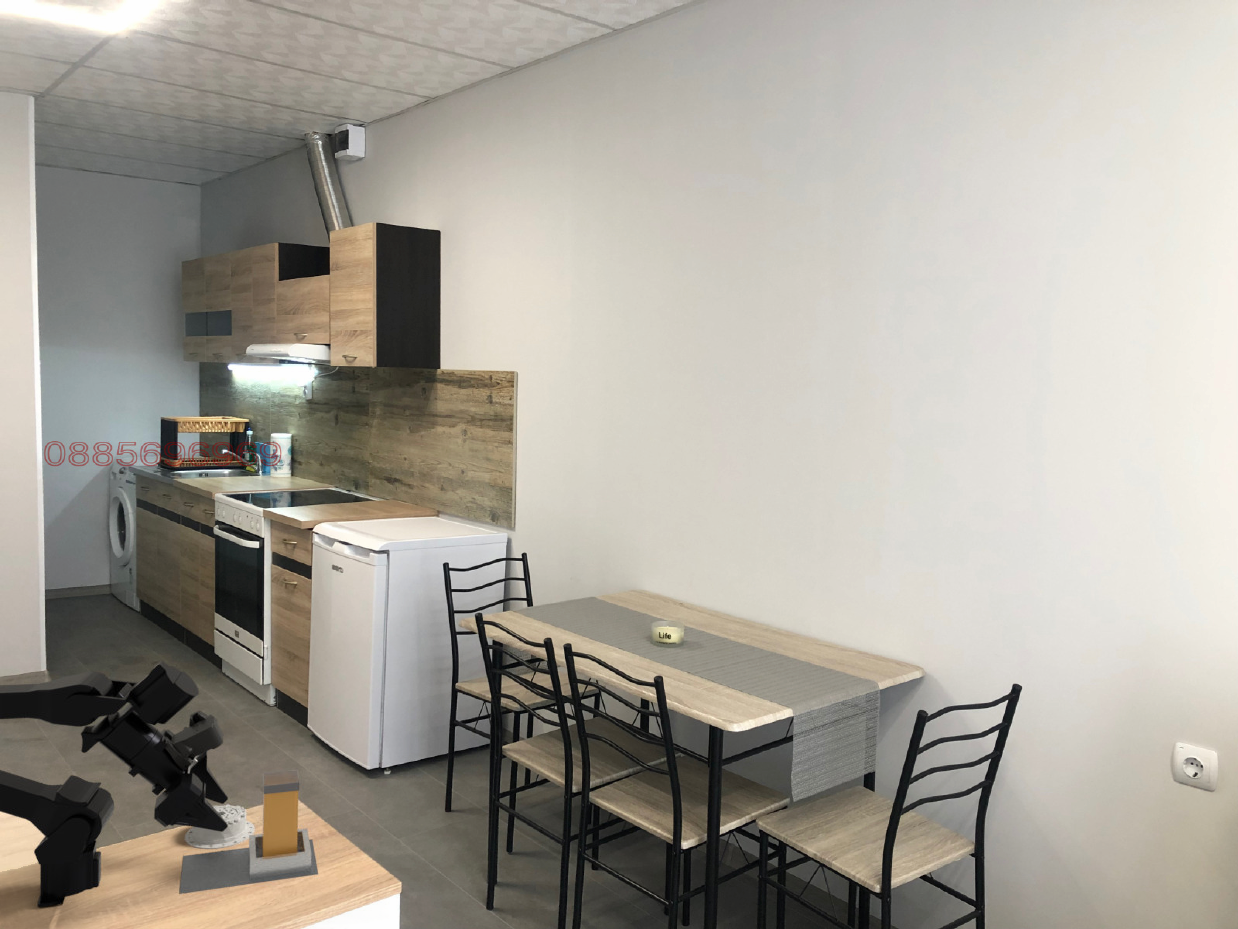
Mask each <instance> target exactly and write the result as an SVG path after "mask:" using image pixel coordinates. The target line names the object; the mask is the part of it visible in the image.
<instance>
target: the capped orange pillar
mask: <svg viewBox="0 0 1238 929" xmlns="http://www.w3.org/2000/svg"><path fill="white" fill-rule="evenodd" d="M262 784H263V785H262V788H263V791H262V792H263V794H262V795H263V797H262V798H263V802H262V804H263V806H262V834H263V841H262V857H268V856H275V855H283V854H291V853H297V832H298V829H299V828H298V823H299V819H298V818H299V791H300V777H299V770H298V769H291V770H290V769H289V770H281V771H268V772H263V773H262Z"/></svg>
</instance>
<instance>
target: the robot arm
mask: <svg viewBox="0 0 1238 929" xmlns="http://www.w3.org/2000/svg"><path fill="white" fill-rule="evenodd" d="M199 692H200V691H199V688H198V686H197V684H196V683H195V681H194V680H193V679H192V677H191V676H190V675H188V674H187V673H186V671H182V670H180V669H179V668H177V667H175V666H172V665H169V664H167V663H166V662H165V661H164V660H160V661H159V662H158V663H157V664H156V665H155V666H154V667H153V668H152V669H151V671H150V672H149V673H148V674H147V675H146V676H144V677H143V678H142V679H141V680H140V681H139V682H137V681H131V680H130V681H129V680H120V679H112V678H109V677H108V676H106V674H105V673H103V672H99V671H88V672H83V673H82V672H81V673H77V674H73V675H72V674H71V675H67V676H66V675H65V676H63V677H60V678H56V679H52V680H50V681H45V682H39V683H28V684H27V683H26V684H25V683H24V684H23V683H22V684H0V720H10V719H12V720H13V719H33V720H34V719H35V720H40V721H42V722H45V723H49V724H52V725H58V726H66V727H67V726H68V727H76V728H77V727H80V728H81V727H83V729H82V731H81V732H80V736H81V743H82V744H81V750H80V751H81V753H84V754H85V753H86V754H87V753H88V752H89V751H90V750H91V749H92V748H93V747H95V745H97V743H98V744H100V745H101V746H102V747H103V748H105V749H106V750H108V751H109V752H110V754H112V755H114V756H115V757H116V758H117V759H119V760H120V761H121V762H122V763H124V764H125V765H126V766H127V767H128V772H127V773H128V774H129V775H130V776H132V778H135V777H136V776H137V775H139V777H141V778H142V779H144V781H146V782H148V783H149V785H151V786H152V787H151V792H152V793H153V794H154V795H156V796H157V797H156V798H155V804H154V812H153V815H154V816H153V817H154V818H153V819H154V820H155V821H157V822H158V823H159V824H160V825H162V826H163V827H164V828H166V827H168V826H171V827H173V826H176V825H177V826H184V827H185V826H186V827H192V828H193V827H198V828H204V829H209V830H215V831H220V832H223V831H224V830H225V829H226V828H227V827H228V824H227V823H226V821H225V820H224V819H223V818H222V817H221V815H220V814H219V813H218V812H217V811H216V810H215V809H214V807H213V806H214V805H212V804H211V803H210V802H209V801H212V802H215V803H218V804H222V805H223V804H225V803H226V802H227V801H228V799H229V796H228V795H227V794H226V791H225V790H224V788H222V786H221V785H220V783H219V782H218V780H217V779H216V778H215V776H214V775H213V773H212V772H211V770H210V769H209V767H208V752H209V751H210V750H215V749H217V748H219V747H220V746H222V744H224V738H223V737H224V733H223V731H222V729H221V728H220V725H219V723H218V719H217V718H216V717H215V716H214V715H213V714H209V715H208V714H206V713H205V712H203V711H201V710H198V711H195V712H193V713H191V714H190V715H189V724H188V727H187V726H184V727H183V729H182V730H181V731H179V732H177V733H174V732H173V731H171V730H170V729H165V728H163V729H162V730H160V729H158V728H157V727H156V725H157V724H160V725H166V724H167V723H168V722H170V721H171V720H172V718H174V717H175V716H176V715H178V713H179V712H181V711H182V710H183V709H184V708H185V707H186V706H187V705H188V704H190V702H192V701H193V700H194V699H195V698H196V697H198V696H199ZM128 703H129V704H128ZM126 704H128V705H127V706H126ZM124 706H125V707H124ZM123 707H124V708H123ZM122 708H123V709H122ZM101 717H103V718H102V719H101V720H100V721H99V722H98V723H96V724H94V725H91V724H93V723H94V722H95V721H97V720H98V719H99V718H101ZM100 786H102V782H99V781H98V782H93V781H88V780H85V779H83V778H81V777H79V776H77V775H73V774H71V775H69V776H68V778H67V779H66V780H65V781H64V782H63V784H46V783H42V782H40V781H36V780H33V779H30V778H27V777H24V776H20V775H18V774H14V773H11V772H8V771H5V770H2V769H0V812H1V813H4V814H7V815H11V816H14V817H16V818H19V819H22V820H27V821H28V822H30V823H31V824H32V825H33V826H34V827H35V828H36V829H37V830H38V832H39V831H40V833H41V834H42V835H43V836H44V837H43V839H42V840H41V841H40V842H39V844H38V845H37V846H36V847H35V849H34V850H33V852H34V853H33V854H34V856H35V858H36V860H37V863H38V865H39V866H40V868H39V869H40V872H39V873H40V875H39V878H40V880H39V882H40V883H39V884H40V885H39V890H40V891H39V893H40V894H39V897H38V900H37V903H36V906H37V907H38V908H43V907H50V906H56V905H57V906H58V905H63V904H64V903H65V902H64V901H65V900H66V897H71V896H75V895H78V894H80V893H82V892H85V891H87V890H92V889H94V888H99V886H100V882H101V878H102V877H101V876H102V852H101V851H100V850H99V851H97V839H98V837H99V836H100V835H101V833H102V831H103V830H104V828H105V827H106V825H108V824H107V823H108V822H109V821H110V819H111V817H112V816H113V815H114V811H115V801H114V799H113V797H112V794H111V793H110V792H109V791H108V790H107V789H105V788H103V787H100ZM208 800H209V801H208Z"/></svg>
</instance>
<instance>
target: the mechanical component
mask: <svg viewBox="0 0 1238 929" xmlns="http://www.w3.org/2000/svg"><path fill="white" fill-rule="evenodd" d="M212 806H213V807H214V809H215V810H216V811H217V812H218V813H219V814H220V815H221V817H222V818H223V819H224V820H225V821H226V823H227V824H228V827H227V828H226V829H225V830H224V831H223V832H220V831H215V830H209V829H204V828H198V827H192V828H190V829H189V830H187V832H186V833H185V834H184V841H185V842H186V844H187V845H188V846H191V847H193V848H196V849H201V850H203V849H204V850H218V849H225V848H229V847H233V846H236V845H239V844H241V843H244V842H245V841H247V840H249V835H255V834H254V833H255V831H256V829H255V828H256V827H255V825H254V824H253V823H252V822H251V821H249V820H247V814H248V813H247V809H246V808H244V807H243V806H240V805H236V806H235V805H230V804H228V803H227V804H225V805H212Z"/></svg>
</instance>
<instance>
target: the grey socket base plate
mask: <svg viewBox="0 0 1238 929" xmlns="http://www.w3.org/2000/svg"><path fill="white" fill-rule="evenodd" d="M262 841H263V833H259V834H253V835H249V839H248V847H242V848H235V849H227V850H226V849H225V850H217V851H211V852H204V853H203V852H202V853H196V854H188V855H183V857H182V867H181V875H180V884H179V895H181V894H188V893H196V892H197V893H198V892H204V891H211V890H217V889H224V888H230V887H231V888H232V887H238V886H246V885H252V884H260V883H266V882H267V883H268V882H274V881H280V880H288V879H296V878H302V877H308V876H309V877H310V876H316V875H319V871H318V865H317V859H316V853H315V846H314V842H313V839H310V836H309V831H308V827H307V828H300V829H299V828H298V832H297V853H291V854H283V855H275V856H268V857H262Z"/></svg>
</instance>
